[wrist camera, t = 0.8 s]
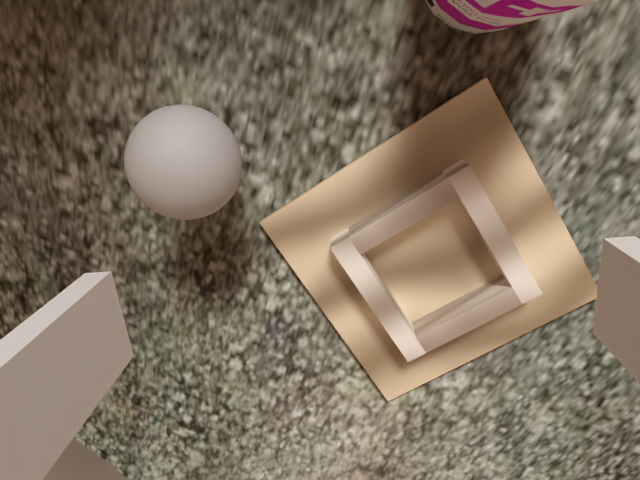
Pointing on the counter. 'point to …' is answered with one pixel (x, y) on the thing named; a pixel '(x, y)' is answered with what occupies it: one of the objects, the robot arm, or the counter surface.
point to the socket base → (434, 245)
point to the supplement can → (497, 12)
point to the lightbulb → (183, 162)
